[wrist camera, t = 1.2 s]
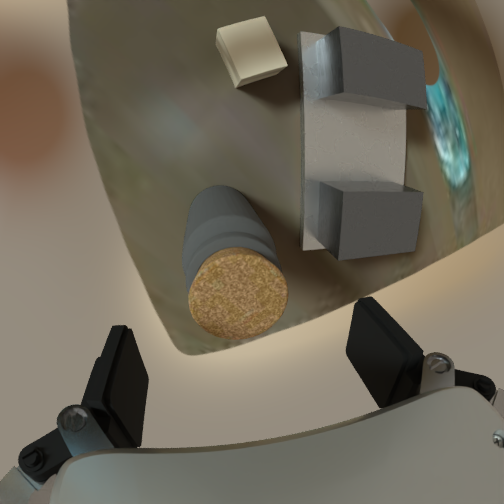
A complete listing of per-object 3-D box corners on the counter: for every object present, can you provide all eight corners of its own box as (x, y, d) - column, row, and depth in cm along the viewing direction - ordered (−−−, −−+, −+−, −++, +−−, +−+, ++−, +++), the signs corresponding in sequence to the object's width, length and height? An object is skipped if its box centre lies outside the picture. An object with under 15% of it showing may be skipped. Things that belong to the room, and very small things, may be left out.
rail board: (297, 34, 21) (320, 13, 15) (397, 55, 22) (431, 47, 17) (299, 246, 29) (321, 272, 24) (392, 238, 31) (422, 258, 25)
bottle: (235, 174, 25) (275, 220, 12) (259, 229, 28) (313, 320, 14) (178, 201, 25) (152, 277, 12) (205, 253, 28) (211, 363, 14)
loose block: (215, 43, 20) (217, 28, 17) (255, 31, 20) (264, 16, 16) (235, 88, 22) (241, 79, 19) (275, 75, 22) (287, 65, 19)
